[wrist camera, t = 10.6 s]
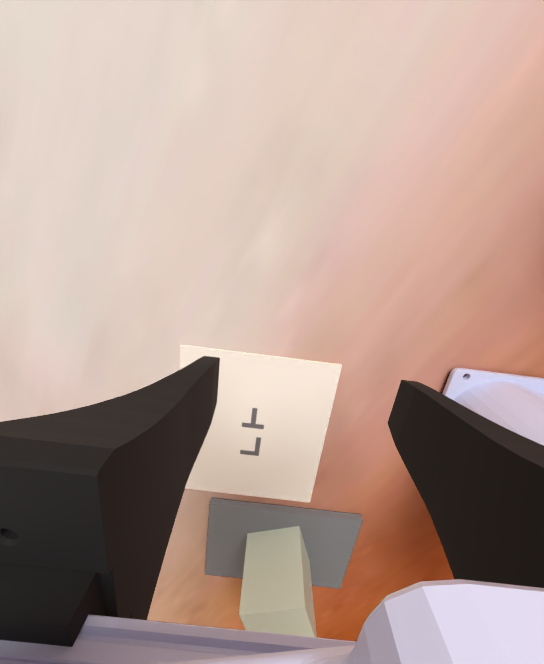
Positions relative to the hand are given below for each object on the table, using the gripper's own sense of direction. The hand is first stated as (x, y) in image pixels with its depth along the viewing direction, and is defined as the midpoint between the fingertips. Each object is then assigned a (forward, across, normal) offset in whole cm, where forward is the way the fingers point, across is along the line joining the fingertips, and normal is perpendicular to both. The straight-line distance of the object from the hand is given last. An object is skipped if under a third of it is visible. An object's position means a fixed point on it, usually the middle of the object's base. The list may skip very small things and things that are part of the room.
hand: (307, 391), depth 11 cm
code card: (+9, +2, +10) cm, 14 cm away
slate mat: (+9, -2, +23) cm, 25 cm away
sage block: (+9, -2, +23) cm, 25 cm away
